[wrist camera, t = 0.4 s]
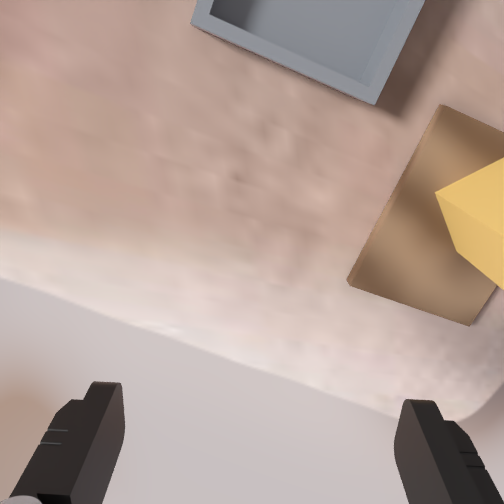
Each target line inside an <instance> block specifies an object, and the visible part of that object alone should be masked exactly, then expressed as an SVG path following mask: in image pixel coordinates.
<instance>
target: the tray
mask: <svg viewBox="0 0 504 504" xmlns="http://www.w3.org/2000/svg"><path fill="white" fill-rule="evenodd" d="M424 2H425V0H198V1H197V4H196V7H195V10H194V13H193V16H192V19H191V22H190V24H191V25H192V26H194V27H196V28H198V29H201V30H203V31H205V32H207V33H210V34H212V35H214V36H216V37H219V38H221V39H223V40H225V41H228V42H230V43H232V44H234V45H236V46H239V47H241V48H243V49H245V50H248V51H250V52H252V53H254V54H257V55H259V56H261V57H263V58H266V59H268V60H270V61H272V62H275V63H277V64H279V65H281V66H284V67H286V68H288V69H290V70H293V71H295V72H297V73H299V74H302V75H304V76H306V77H308V78H311V79H313V80H315V81H317V82H320V83H322V84H324V85H326V86H329V87H331V88H333V89H335V90H338V91H340V92H342V93H344V94H347V95H349V96H351V97H353V98H356V99H358V100H360V101H363V102H366V103H369V104H372V105H375V104H376V101H377V99H378V97H379V95H380V93H381V91H382V89H383V87H384V85H385V83H386V81H387V79H388V77H389V74H390V72H391V70H392V68H393V66H394V64H395V62H396V60H397V58H398V56H399V54H400V52H401V50H402V48H403V45H404V43H405V41H406V39H407V37H408V35H409V33H410V31H411V29H412V27H413V25H414V23H415V21H416V18H417V16H418V14H419V12H420V10H421V8H422V6H423V4H424Z"/></svg>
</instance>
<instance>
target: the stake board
mask: <svg viewBox="0 0 504 504" xmlns="http://www.w3.org/2000/svg"><path fill="white" fill-rule="evenodd" d="M502 158H504V132H502V131H499V130H497V129H495V128H493V127H491V126H489V125H487V124H484V123H482V122H480V121H478V120H476V119H474V118H471V117H469V116H467V115H465V114H463V113H461V112H459V111H456V110H454V109H452V108H450V107H448V106H445V105H439V107H438V109H437V110H436V112H435V114H434V116H433V118H432V120H431V122H430V124H429V125H428V127H427V129H426V131H425V133H424V135H423V137H422V139H421V141H420V142H419V144H418V146H417V148H416V150H415V152H414V154H413V156H412V157H411V159H410V161H409V163H408V165H407V167H406V169H405V171H404V172H403V174H402V176H401V178H400V180H399V182H398V184H397V186H396V188H395V189H394V191H393V193H392V195H391V197H390V199H389V201H388V203H387V204H386V206H385V208H384V210H383V212H382V214H381V216H380V218H379V220H378V221H377V223H376V225H375V227H374V229H373V231H372V233H371V235H370V236H369V238H368V240H367V242H366V244H365V246H364V248H363V250H362V251H361V253H360V255H359V257H358V259H357V261H356V263H355V265H354V267H353V268H352V270H351V272H350V274H349V276H348V278H347V282H348V283H349V285H350V286H352V287H355V288H358V289H361V290H364V291H367V292H370V293H373V294H375V295H378V296H381V297H384V298H387V299H390V300H393V301H396V302H399V303H402V304H405V305H408V306H411V307H414V308H416V309H419V310H422V311H425V312H428V313H431V314H434V315H437V316H440V317H443V318H446V319H449V320H452V321H454V322H457V323H460V324H463V325H466V326H470V325H471V324H472V322H473V321H474V319H475V318H476V316H477V315H478V313H479V312H480V310H481V309H482V307H483V306H484V304H485V303H486V301H487V300H488V298H489V297H490V295H491V294H492V292H493V291H494V289H495V288H496V286H497V284H496V283H494V282H493V281H492V280H491V279H489V278H488V277H487V276H486V275H485V274H483V273H482V272H481V271H480V270H479V269H477V268H476V267H475V266H474V265H472V264H471V263H470V262H469V261H468V260H466V259H465V258H464V257H463V256H462V255H460V254H459V253H458V252H457V251H456V249H455V246H454V243H453V240H452V238H451V235H450V232H449V230H448V227H447V224H446V221H445V219H444V216H443V213H442V211H441V208H440V205H439V202H438V200H437V197H436V194H435V192H437V191H439V190H441V189H442V188H444V187H446V186H448V185H450V184H452V183H454V182H456V181H458V180H460V179H462V178H464V177H466V176H468V175H470V174H472V173H474V172H476V171H478V170H480V169H482V168H484V167H486V166H488V165H490V164H492V163H494V162H496V161H498V160H500V159H502Z"/></svg>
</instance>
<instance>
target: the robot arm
mask: <svg viewBox="0 0 504 504" xmlns="http://www.w3.org/2000/svg"><path fill="white" fill-rule="evenodd" d="M124 433H125V418H124V405H123V393H122V386H121V383H115V382H96V381H94V382H93V383H92V384H91V385H90V388H89V389H88V391H87V393H86V395H85V397H84V399H83V400H73V399H72V400H70V401H69V402H68V403H67V404H66V405H65V406H63V407H62V408H61V409H60V410H59V411H58V412H57V413H56V414H55V416H54V418H53V420H52V422H51V423H50V425H49V427H48V431H47V432H45V434H44V436H43V438H42V440H41V443H40V445H38V447H37V449H36V451H35V452H34V454H33V456H32V458H31V459H30V461H29V463H28V465H27V467H26V468H25V470H24V472H23V474H22V476H21V477H20V479H19V481H18V483H17V485H16V487H15V488H14V490H13V492H12V494H11V495H10V497H9V498H8V499H5V500H3V501H1V502H0V504H102V502H103V499H104V497H105V493H106V491H107V488H108V485H109V482H110V479H111V476H112V473H113V471H114V468H115V465H116V462H117V459H118V456H119V453H120V450H121V447H122V444H123V440H124ZM394 455H395V460H396V464H397V467H398V470H399V473H400V477H401V480H402V483H403V486H404V489H405V492H406V495H407V499H408V502H409V504H504V502H503V500H502V498H501V496H500V494H499V492H498V490H497V488H496V487H495V484H494V483H493V481H492V479H491V477H490V475H489V473H488V471H487V470H485V466H484V464H483V462H482V460H481V458H480V456H478V453H477V450H476V448H475V447H474V445H473V443H472V441H471V439H470V437H469V436H468V434H466V433H465V432H464V431H463V430H462V429H461V428H460V427H459V426H458V425H457V424H456V423H455V422H454V421H446V420H444V419H443V417H442V415H441V413H440V411H439V409H438V407H437V405H436V403H435V402H434V401H432V400H413V399H406V400H405V401H404V403H403V406H402V410H401V414H400V418H399V423H398V427H397V431H396V435H395V440H394Z"/></svg>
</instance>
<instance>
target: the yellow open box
mask: <svg viewBox="0 0 504 504" xmlns="http://www.w3.org/2000/svg"><path fill="white" fill-rule="evenodd" d="M435 194H436V197H437V200H438V202H439V205H440V208H441V211H442V213H443V216H444V219H445V221H446V224H447V227H448V230H449V232H450V235H451V238H452V240H453V243H454V246H455V249H456V251H457V252H458V253H459V254H460V255H462V256H463V257H464V258H465V259H466V260H468V261H469V262H470V263H471V264H472V265H474V266H475V267H476V268H477V269H479V270H480V271H481V272H482V273H483V274H485V275H486V276H487V277H488V278H489V279H491V280H492V281H493V282H494V283H496V284H497V285H498V286H499V287H500V288H502V289H503V290H504V158H502V159H500V160H498V161H496V162H494V163H492V164H490V165H488V166H486V167H484V168H482V169H480V170H478V171H476V172H474V173H472V174H470V175H468V176H466V177H464V178H462V179H460V180H458V181H456V182H454V183H452V184H450V185H448V186H446V187H444V188H442V189H441V190H439V191H437V192H435Z"/></svg>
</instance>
